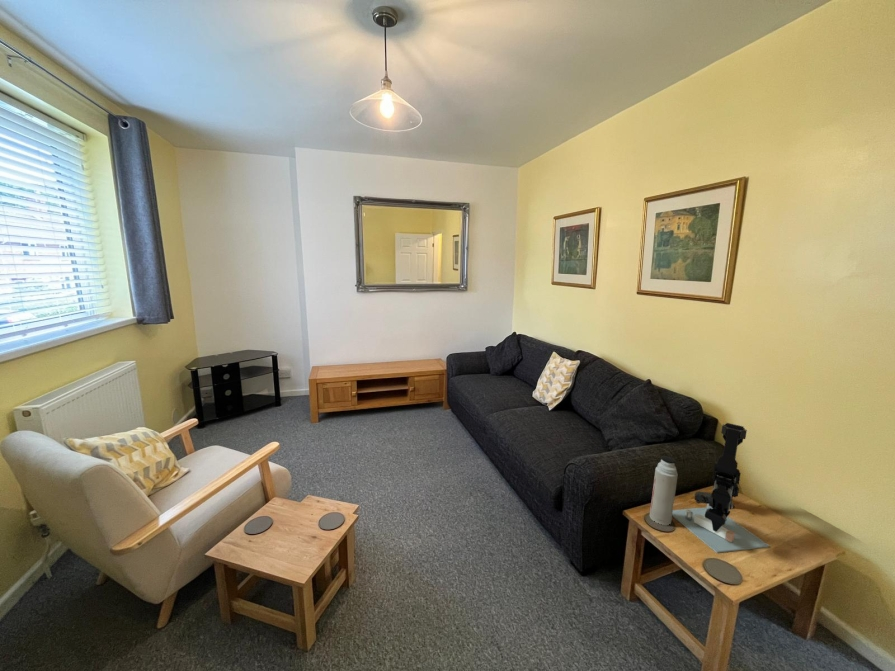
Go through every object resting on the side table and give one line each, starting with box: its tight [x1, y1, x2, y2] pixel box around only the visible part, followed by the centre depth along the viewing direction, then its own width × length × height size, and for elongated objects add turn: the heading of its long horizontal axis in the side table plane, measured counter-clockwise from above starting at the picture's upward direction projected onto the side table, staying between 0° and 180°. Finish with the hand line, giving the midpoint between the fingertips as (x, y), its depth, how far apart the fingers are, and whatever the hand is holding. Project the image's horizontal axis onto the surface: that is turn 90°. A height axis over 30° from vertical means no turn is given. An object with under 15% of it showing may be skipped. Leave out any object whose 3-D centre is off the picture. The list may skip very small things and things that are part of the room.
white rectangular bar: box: [694, 514, 735, 542], centre depth 141 cm, size 13×2×3 cm, turn 32°
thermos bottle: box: [649, 455, 679, 526], centre depth 147 cm, size 8×8×28 cm
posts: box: [685, 504, 712, 521], centre depth 152 cm, size 18×4×4 cm, turn 109°
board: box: [672, 506, 771, 554], centre depth 145 cm, size 24×24×1 cm
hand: (715, 528), depth 141 cm, fingers open, 4 cm apart
